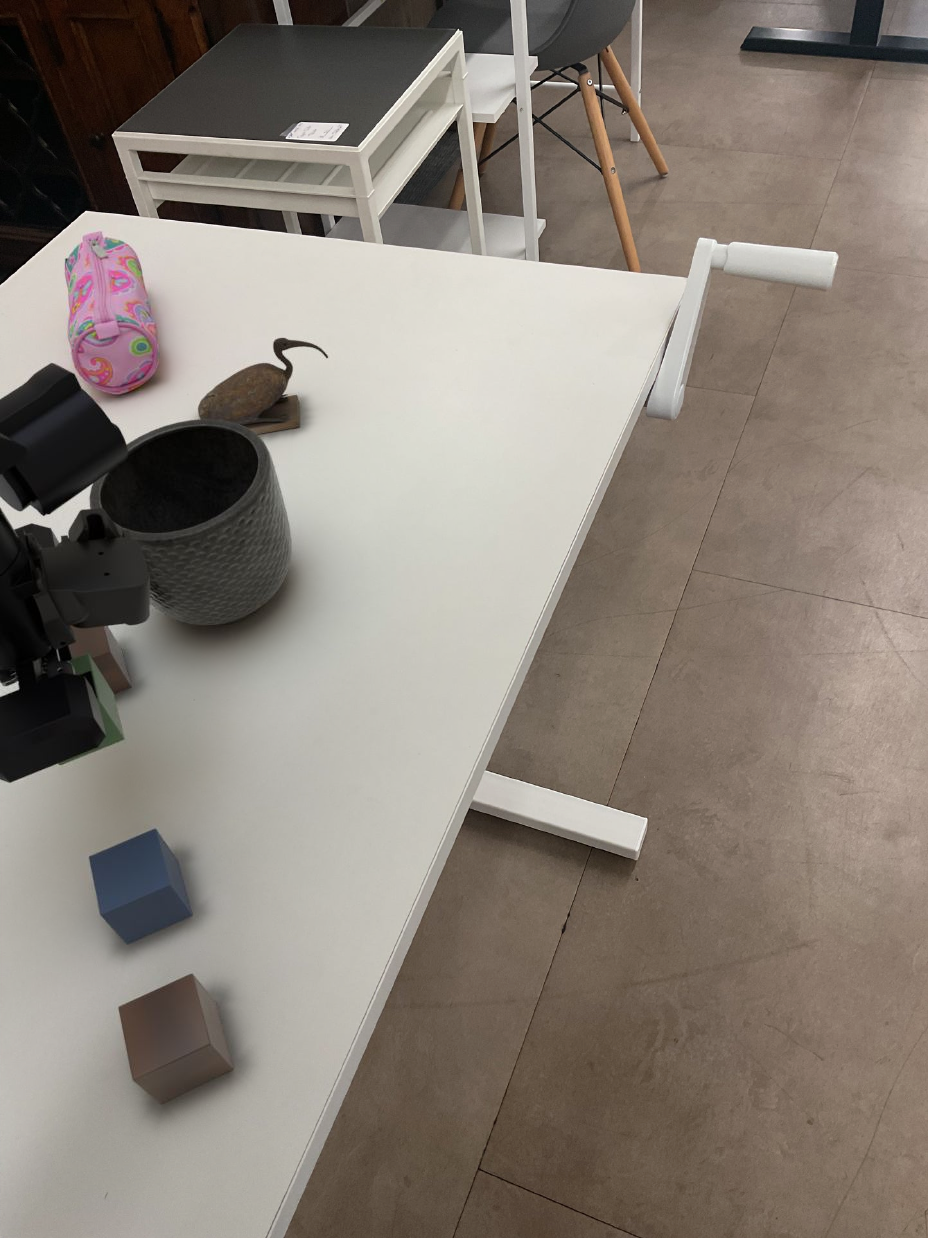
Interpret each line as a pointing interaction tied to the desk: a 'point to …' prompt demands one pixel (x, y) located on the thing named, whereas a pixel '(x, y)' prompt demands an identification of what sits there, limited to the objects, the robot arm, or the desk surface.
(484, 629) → the desk surface
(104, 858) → the blue block
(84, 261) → the pencil case
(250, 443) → the planter
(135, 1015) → the near walnut block
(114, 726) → the green block
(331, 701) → the desk surface
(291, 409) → the figurine
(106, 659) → the far walnut block
